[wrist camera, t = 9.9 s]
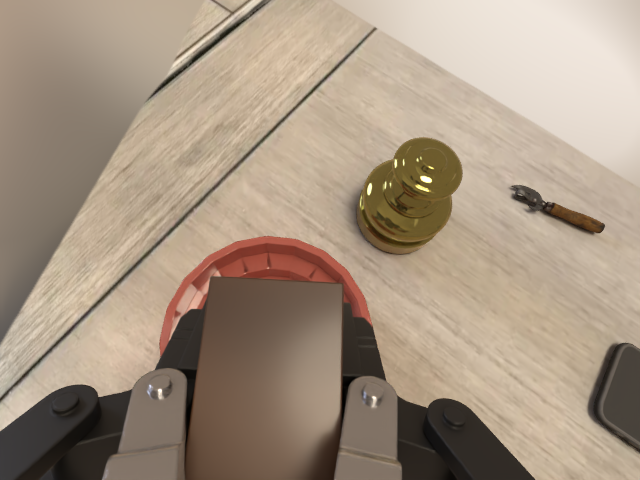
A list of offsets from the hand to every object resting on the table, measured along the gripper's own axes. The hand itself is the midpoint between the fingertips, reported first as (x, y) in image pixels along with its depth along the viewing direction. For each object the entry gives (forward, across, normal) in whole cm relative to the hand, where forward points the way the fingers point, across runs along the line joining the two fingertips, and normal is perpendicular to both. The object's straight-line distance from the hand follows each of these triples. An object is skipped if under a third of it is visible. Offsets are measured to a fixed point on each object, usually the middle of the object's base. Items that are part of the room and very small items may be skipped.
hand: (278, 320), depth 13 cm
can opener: (+23, -25, +2) cm, 34 cm away
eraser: (+3, 0, +6) cm, 6 cm away
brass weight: (+21, -9, +4) cm, 24 cm away
